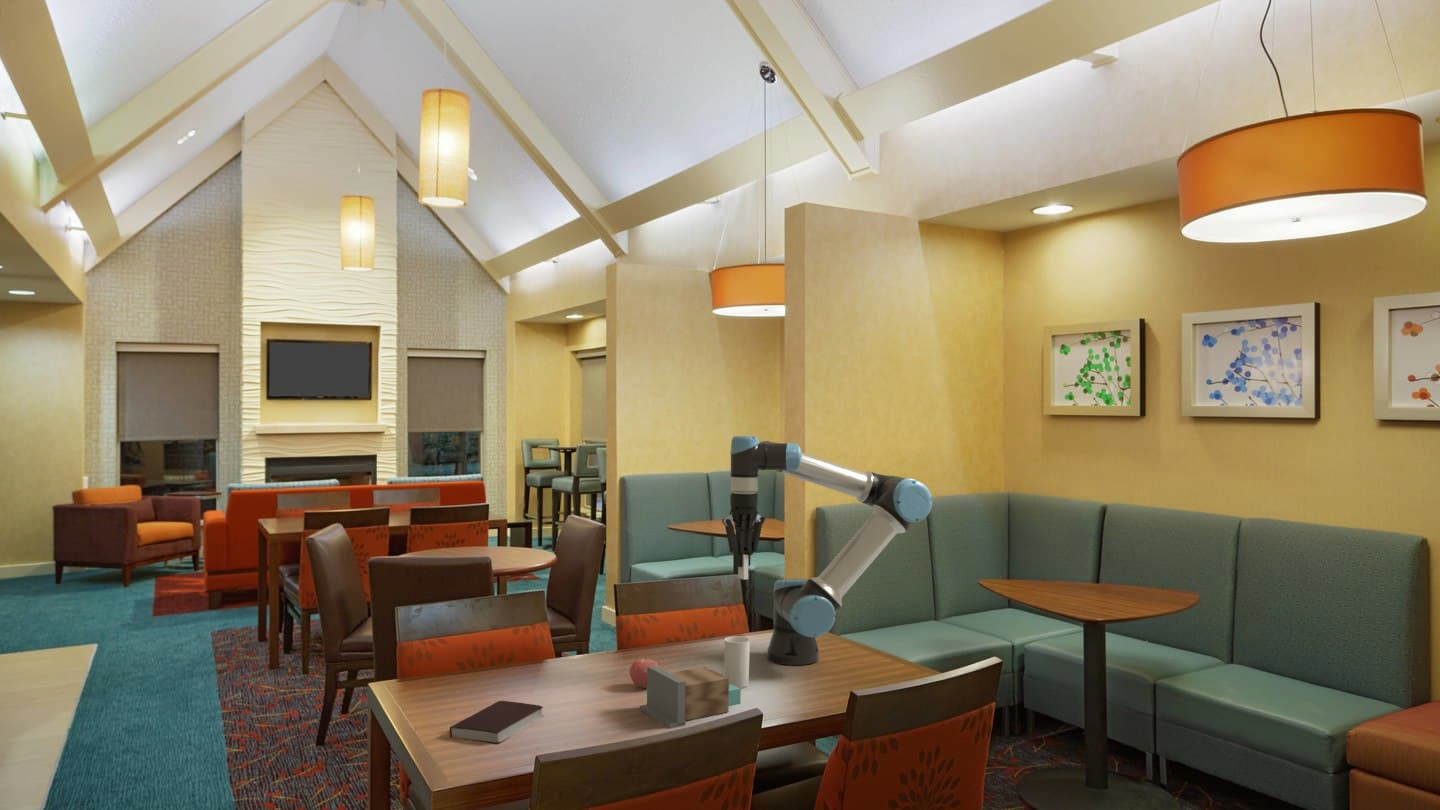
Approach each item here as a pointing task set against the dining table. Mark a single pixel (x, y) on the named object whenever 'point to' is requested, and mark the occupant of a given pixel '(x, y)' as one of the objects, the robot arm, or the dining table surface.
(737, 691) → the teal bar
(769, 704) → the dining table surface
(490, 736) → the book
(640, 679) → the apple
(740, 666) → the mug
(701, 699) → the block
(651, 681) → the wall
